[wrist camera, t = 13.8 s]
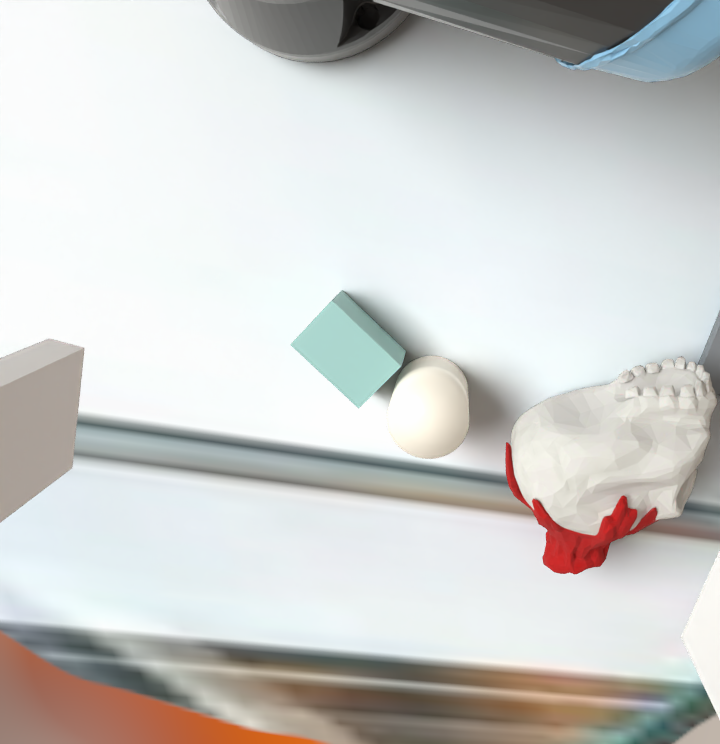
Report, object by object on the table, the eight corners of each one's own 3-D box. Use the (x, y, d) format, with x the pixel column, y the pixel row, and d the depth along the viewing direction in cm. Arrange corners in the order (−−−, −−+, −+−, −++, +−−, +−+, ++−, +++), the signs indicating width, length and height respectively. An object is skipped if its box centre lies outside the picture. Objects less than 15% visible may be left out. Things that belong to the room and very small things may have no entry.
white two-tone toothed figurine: (693, 342, 43) (646, 536, 49) (513, 329, 44) (488, 519, 50) (748, 405, 35) (683, 628, 41) (524, 386, 36) (494, 605, 42)
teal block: (342, 289, 46) (331, 300, 42) (406, 350, 47) (401, 366, 43) (304, 330, 47) (290, 344, 43) (366, 389, 48) (358, 408, 44)
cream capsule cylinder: (405, 347, 46) (397, 371, 41) (476, 366, 46) (479, 393, 40) (387, 413, 48) (378, 446, 42) (457, 432, 48) (456, 468, 42)
